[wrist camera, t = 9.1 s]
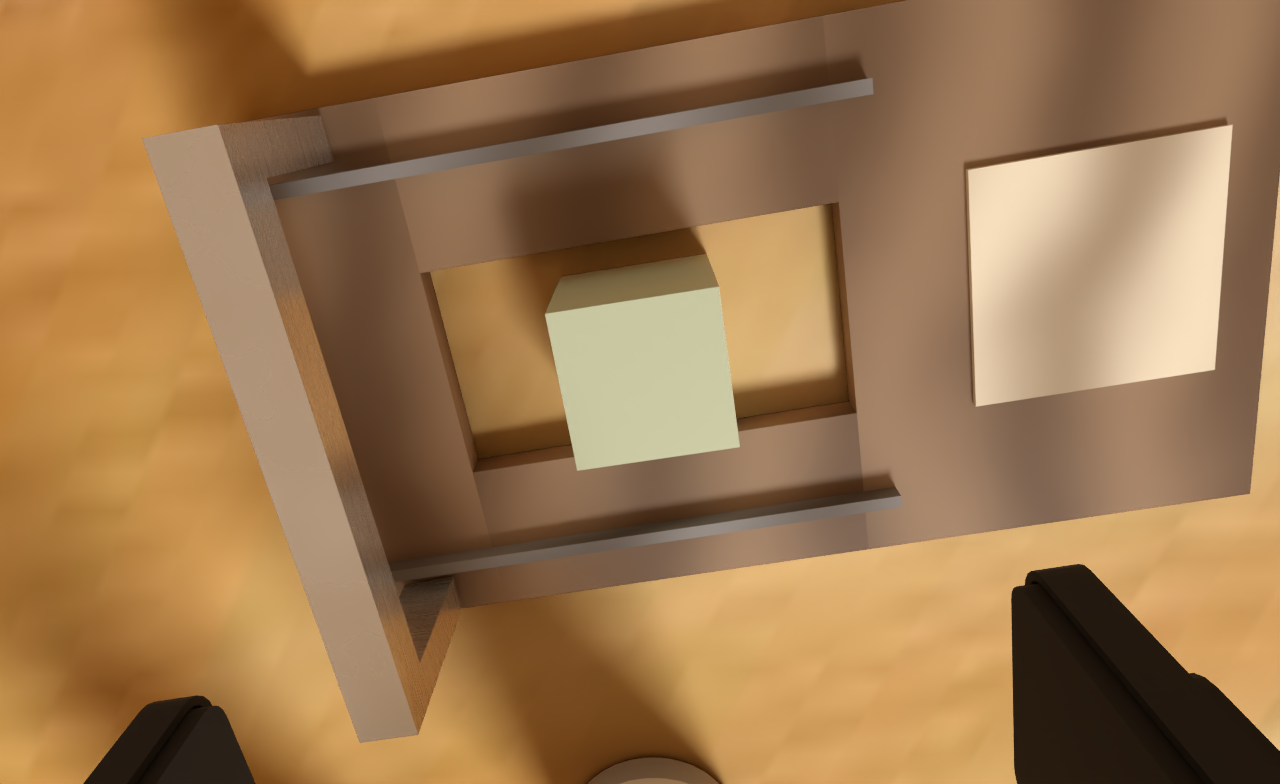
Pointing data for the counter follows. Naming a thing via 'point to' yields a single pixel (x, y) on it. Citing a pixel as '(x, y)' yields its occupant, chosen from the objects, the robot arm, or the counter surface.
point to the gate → (300, 415)
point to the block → (643, 362)
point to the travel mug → (653, 773)
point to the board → (867, 273)
